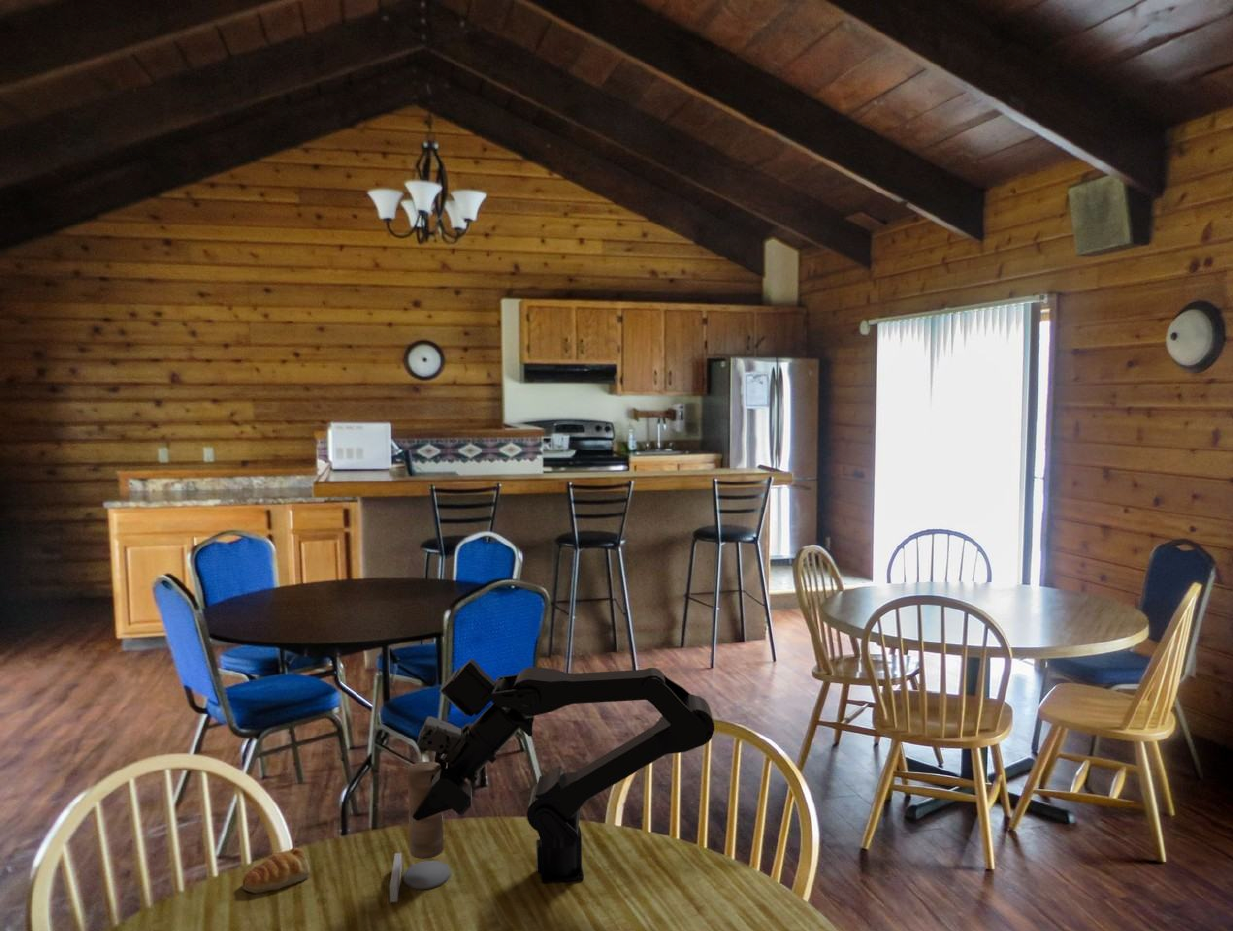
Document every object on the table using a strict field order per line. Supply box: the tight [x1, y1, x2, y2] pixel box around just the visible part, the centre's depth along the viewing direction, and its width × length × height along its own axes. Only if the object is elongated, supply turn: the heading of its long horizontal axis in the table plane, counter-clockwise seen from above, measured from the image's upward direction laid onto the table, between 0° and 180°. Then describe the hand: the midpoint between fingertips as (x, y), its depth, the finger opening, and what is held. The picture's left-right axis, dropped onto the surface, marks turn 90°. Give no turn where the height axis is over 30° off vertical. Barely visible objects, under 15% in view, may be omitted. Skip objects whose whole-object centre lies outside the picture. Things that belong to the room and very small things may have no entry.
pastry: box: [242, 846, 311, 894], centre depth 135 cm, size 9×7×4 cm
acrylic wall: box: [389, 852, 403, 903], centre depth 133 cm, size 1×9×2 cm, turn 9°
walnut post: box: [407, 761, 445, 860], centre depth 135 cm, size 5×5×13 cm
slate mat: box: [403, 860, 451, 890], centre depth 136 cm, size 7×7×1 cm
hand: (416, 809), depth 135 cm, fingers closed on walnut post, 5 cm apart
